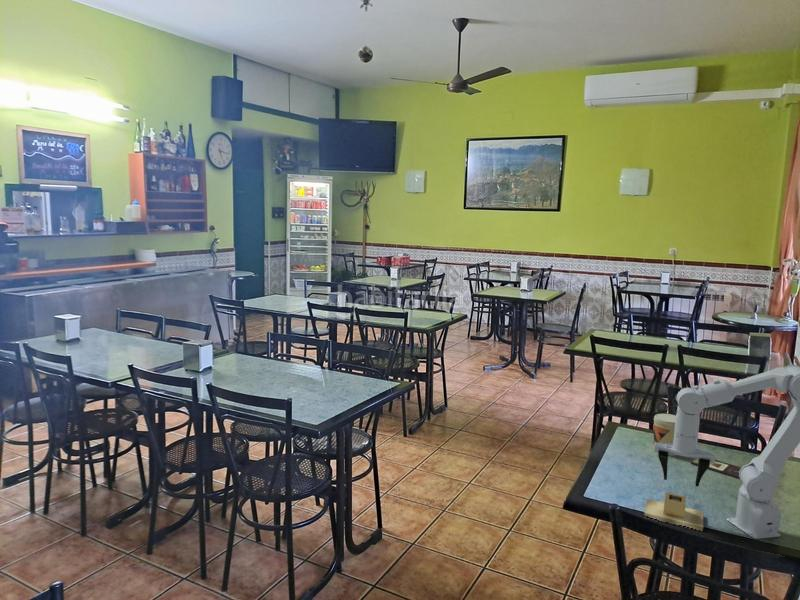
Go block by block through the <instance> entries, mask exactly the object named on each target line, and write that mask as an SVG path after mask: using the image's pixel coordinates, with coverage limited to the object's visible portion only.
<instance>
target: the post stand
mask: <svg viewBox="0 0 800 600" xmlns="http://www.w3.org/2000/svg"><path fill="white" fill-rule="evenodd" d="M671 500H675V501H679V502H680V500H677V499H673V498H671ZM663 512H664V501H663V502H662V501H659V500H654V499H650V498H647V499H646V503H645V508H644V514H643V516H644V515H645V516H648V517H650V518H653V519H652V520H654V519H657V520H656V521H658V520H659V522H663V523H666V522H668V523H667V524H671V525H674V524H675V525H674V526H679V525H682V526H681V527H683V526H686V527H685V528H687V527H689V528H688V529H691V528H693V529H692V530H695V529H696V530H695V531H699V530H700V531H699V532H703V531H704V511H701V510H696V509H694V508H693V509H692V508H689V507H685V514H684V519H683V518H678V517H674V516H670V515H666V514H663ZM650 518H649V519H650Z"/></svg>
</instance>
